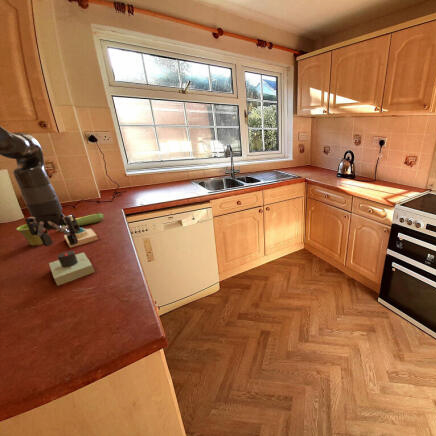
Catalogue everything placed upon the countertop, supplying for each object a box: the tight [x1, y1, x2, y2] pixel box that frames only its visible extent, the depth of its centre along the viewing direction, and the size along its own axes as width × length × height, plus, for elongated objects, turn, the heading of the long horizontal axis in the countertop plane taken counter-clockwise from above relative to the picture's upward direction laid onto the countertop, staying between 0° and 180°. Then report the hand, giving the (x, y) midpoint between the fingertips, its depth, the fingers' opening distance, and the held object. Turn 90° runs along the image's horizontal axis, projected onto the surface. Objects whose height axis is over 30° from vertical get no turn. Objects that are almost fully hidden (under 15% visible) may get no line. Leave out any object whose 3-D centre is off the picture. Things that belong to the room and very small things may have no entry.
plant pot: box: [16, 223, 49, 247], centre depth 107 cm, size 9×9×9 cm
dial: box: [57, 250, 78, 267], centre depth 85 cm, size 4×4×4 cm
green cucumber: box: [56, 212, 105, 232], centre depth 126 cm, size 5×20×5 cm, turn 135°
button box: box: [63, 228, 99, 249], centre depth 110 cm, size 12×10×4 cm
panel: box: [48, 251, 96, 287], centre depth 86 cm, size 14×10×3 cm
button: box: [75, 226, 84, 234], centre depth 109 cm, size 4×4×2 cm
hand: (61, 244), depth 83 cm, fingers open, 8 cm apart
